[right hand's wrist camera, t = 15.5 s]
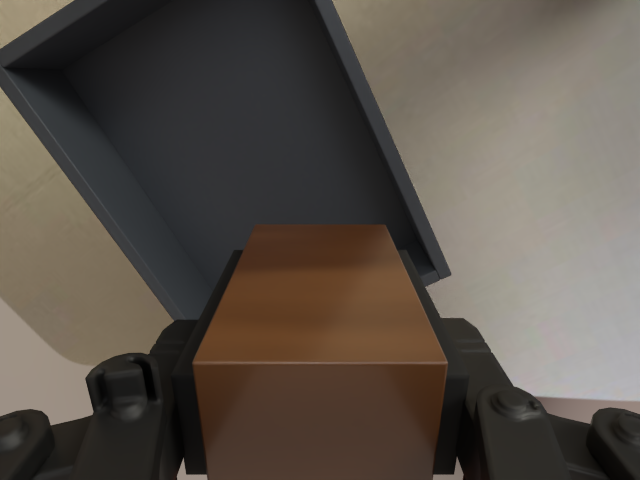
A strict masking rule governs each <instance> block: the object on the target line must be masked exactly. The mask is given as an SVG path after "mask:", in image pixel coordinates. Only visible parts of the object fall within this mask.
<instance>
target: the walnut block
mask: <svg viewBox="0 0 640 480" xmlns="http://www.w3.org/2000/svg"><path fill="white" fill-rule="evenodd" d="M192 366H193V374H194V381H195V389H196V396H197V404H198V411H199V419H200V426H201V434H202V441H203V449H204V456H205V464H206V471H207V478H208V480H433V472H434V465H435V458H436V450H437V443H438V435H439V428H440V420H441V413H442V405H443V398H444V390H445V383H446V376H447V368H448V362H447V359H446V357H445V355H444V353H443V351H442V348H441V346H440V344H439V342H438V340H437V337H436V335H435V333H434V331H433V329H432V326H431V324H430V322H429V320H428V318H427V315H426V313H425V311H424V309H423V307H422V304H421V302H420V300H419V298H418V296H417V293H416V291H415V289H414V287H413V285H412V282H411V280H410V278H409V276H408V274H407V271H406V269H405V267H404V265H403V263H402V260H401V258H400V256H399V254H398V251H397V249H396V247H395V245H394V243H393V240H392V238H391V236H390V234H389V232H388V229H387V227H386V225H353V224H256V225H255V226H254V228H253V230H252V232H251V235H250V237H249V239H248V241H247V243H246V246H245V248H244V250H243V252H242V254H241V257H240V259H239V261H238V263H237V265H236V268H235V270H234V272H233V274H232V276H231V279H230V281H229V283H228V285H227V287H226V290H225V292H224V294H223V296H222V298H221V300H220V303H219V305H218V307H217V309H216V311H215V314H214V316H213V318H212V320H211V322H210V325H209V327H208V329H207V331H206V333H205V336H204V338H203V340H202V342H201V344H200V347H199V349H198V351H197V353H196V355H195V358H194V360H193V362H192Z"/></svg>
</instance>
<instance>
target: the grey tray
mask: <svg viewBox="0 0 640 480" xmlns="http://www.w3.org/2000/svg"><path fill="white" fill-rule="evenodd" d="M0 87H1V88H2V90H3V91H4V92H5V94H6V95H7V96H8V98H9V99H10V100H11V102H12V103H13V104H14V106H15V107H16V109H17V110H18V111H19V113H20V114H21V115H22V117H23V118H24V119H25V121H26V122H27V123H28V125H29V126H30V127H31V129H32V130H33V131H34V133H35V134H36V135H37V137H38V138H39V140H40V141H41V142H42V144H43V145H44V146H45V148H46V149H47V150H48V152H49V153H50V154H51V156H52V157H53V158H54V160H55V161H56V162H57V164H58V165H59V166H60V168H61V169H62V170H63V172H64V173H65V175H66V176H67V177H68V179H69V180H70V181H71V183H72V184H73V185H74V187H75V188H76V189H77V191H78V192H79V193H80V195H81V196H82V197H83V199H84V200H85V201H86V203H87V204H88V206H89V207H90V208H91V210H92V211H93V212H94V214H95V215H96V216H97V218H98V219H99V220H100V222H101V223H102V224H103V226H104V227H105V228H106V230H107V231H108V232H109V234H110V235H111V237H112V238H113V239H114V241H115V242H116V243H117V245H118V246H119V247H120V249H121V250H122V251H123V253H124V254H125V255H126V257H127V258H128V259H129V261H130V262H131V263H132V265H133V266H134V268H135V269H136V270H137V272H138V273H139V274H140V276H141V277H142V278H143V280H144V281H145V282H146V284H147V285H148V286H149V288H150V289H151V290H152V292H153V293H154V294H155V296H156V297H157V298H158V300H159V301H160V303H161V304H162V305H163V307H164V308H165V309H166V311H167V312H168V313H169V315H170V316H171V317H172V319H173V320H174V321H176V320H177V319H199V318H200V316H201V314H202V312H203V310H204V308H205V306H206V304H207V302H208V300H209V298H210V296H211V294H212V292H213V290H214V288H215V286H216V285H217V283H218V281H219V279H220V277H221V275H222V273H223V271H224V269H225V267H226V265H227V263H228V261H229V259H230V257H231V255H232V253H233V251H234V250H244V248H245V246H246V243H247V241H248V239H249V237H250V235H251V232H252V230H253V228H254V226H255V225H256V224H353V225H386V227H387V229H388V232H389V234H390V236H391V238H392V240H393V243H394V245H395V247H396V249H397V250H407V252H408V254H409V256H410V258H411V260H412V262H413V264H414V266H415V268H416V270H417V272H418V274H419V276H420V278H421V280H422V282H423V284H424V286H425V287H426V286H428V285H430V284H432V283H435V282H437V281H439V280H440V279H443V278H446V277H448V276H450V275H451V272H450V269H449V267H448V265H447V262H446V260H445V258H444V256H443V253H442V251H441V249H440V246H439V244H438V242H437V240H436V237H435V235H434V233H433V230H432V228H431V226H430V224H429V221H428V219H427V217H426V214H425V212H424V210H423V208H422V205H421V203H420V201H419V198H418V196H417V194H416V192H415V189H414V187H413V185H412V182H411V180H410V178H409V176H408V173H407V171H406V169H405V166H404V164H403V162H402V160H401V157H400V155H399V153H398V150H397V148H396V146H395V144H394V141H393V139H392V137H391V134H390V132H389V130H388V128H387V125H386V123H385V121H384V118H383V116H382V114H381V112H380V109H379V107H378V105H377V102H376V100H375V98H374V96H373V93H372V91H371V89H370V86H369V84H368V82H367V80H366V77H365V75H364V73H363V70H362V68H361V66H360V64H359V61H358V59H357V57H356V54H355V52H354V50H353V48H352V45H351V43H350V41H349V38H348V36H347V34H346V32H345V29H344V27H343V25H342V22H341V20H340V18H339V16H338V13H337V11H336V9H335V6H334V4H333V2H332V0H74V1H73V2H71V3H70V4H68V5H67V6H65V7H64V8H62V9H60V10H59V11H57V12H56V13H54V14H53V15H51V16H50V17H48V18H47V19H45V20H44V21H42V22H41V23H39V24H38V25H36V26H35V27H33V28H32V29H30V30H28V31H27V32H25V33H24V34H22V35H21V36H19V37H18V38H16V39H15V40H13V41H12V42H10V43H9V44H7V45H6V46H4V47H3V48H1V49H0Z"/></svg>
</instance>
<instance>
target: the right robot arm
mask: <svg viewBox="0 0 640 480" xmlns="http://www.w3.org/2000/svg"><path fill="white" fill-rule="evenodd" d="M397 251H398V254H399V256H400V258H401V260H402V263H403V265H404V267H405V269H406V271H407V274H408V276H409V278H410V280H411V282H412V285H413V287H414V289H415V291H416V293H417V296H418V298H419V300H420V302H421V304H422V307H423V309H424V311H425V313H426V315H427V318H428V320H429V322H430V324H431V326H432V329H433V331H434V333H435V335H436V337H437V340H438V342H439V344H440V346H441V348H442V351H443V353H444V355H445V357H446V359H447V362H448V368H447V376H446V383H445V390H444V398H443V405H442V413H441V420H440V428H439V435H438V443H437V450H436V458H435V465H434V472H433V474H454V471H455V465H456V458H457V457H458V460H459V462H460V465H461V468H462V471H463V474H464V476H463V480H640V414H637V413H634V412H631V411H628V410H625V409H618V408H605V409H599V410H598V411H597V412H596V413H595V414H594V415H593V417H592V420H591V423H590V424H588V423H583V422H579V421H575V420H570V419H566V418H562V417H558V416H555V415H552V414H548V413H547V412H546V410H545V409H544V407H543V406H542V404H541V402H540V401H538V400H537V399H536V398H535V397H534V396H532V395H531V394H530V393H528V392H526V391H524V390H522V389H520V388H517V387H514V386H513V385H512V383H511V381H510V380H509V378H508V377H507V375H506V374H505V372H504V370H503V369H502V367H501V366H500V364H499V362H498V361H497V359H496V358H495V356H494V355H493V353H491V350H490V348H489V347H488V345H487V343H485V340H484V339H483V337H482V336H481V334H480V332H479V331H478V329H477V328H476V327H474V326H473V325H472V324H470V323H469V322H468V321H466V320H465V319H464V318H441V317H440V315H439V314H438V312H437V310H436V308H435V306H434V304H433V302H432V300H431V298H430V296H429V294H428V292H427V290H426V288H425V286H424V284H423V282H422V280H421V278H420V276H419V274H418V272H417V270H416V268H415V266H414V264H413V262H412V260H411V258H410V256H409V254H408V252H407V250H397ZM242 252H243V250H234V251H233V253H232V255H231V257H230V259H229V261H228V263H227V265H226V267H225V269H224V271H223V273H222V275H221V277H220V279H219V281H218V283H217V285H216V286H215V288H214V290H213V292H212V294H211V296H210V298H209V300H208V302H207V304H206V306H205V308H204V310H203V312H202V314H201V316H200V318H199V319H177V320H176V321H174V322H173V323H172V324H170V325H169V326H168V327H166V328H165V329H164V330H163V331H162V333H161V334H160V336H159V338H158V339H157V341H156V344H154V346H153V347H152V349H151V350H150V354H148V355H147V354H144V353H127V354H123V355H118V356H115V357H112V358H110V359H108V360H106V361H103V362H102V363H100V364H99V365H97V366H96V367H95V368H93V369H92V370H91V371H90V373H89V374H88V375H87V377H86V383H87V387H88V391H89V395H90V399H91V403H92V407H93V411H94V413H93V415H91V416H88V417H85V418H81V419H77V420H73V421H69V422H64V423H60V424H56V425H52V426H51V425H50V422H49V419H48V416H47V415H45V414H44V413H43V412H42V411H38V410H33V409H28V410H21V411H15V412H12V413H9V414H6V415H3V416H0V480H177V474H178V471H179V468H180V466H181V463H182V460H183V457H184V463H185V469H186V474H207V471H206V464H205V456H204V449H203V441H202V434H201V426H200V419H199V411H198V404H197V396H196V389H195V381H194V374H193V366H192V362H193V360H194V358H195V355H196V353H197V351H198V349H199V347H200V344H201V342H202V340H203V338H204V336H205V333H206V331H207V329H208V327H209V325H210V322H211V320H212V318H213V316H214V314H215V311H216V309H217V307H218V305H219V303H220V300H221V298H222V296H223V294H224V292H225V290H226V287H227V285H228V283H229V281H230V279H231V276H232V274H233V272H234V270H235V268H236V265H237V263H238V261H239V259H240V257H241V254H242Z"/></svg>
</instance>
